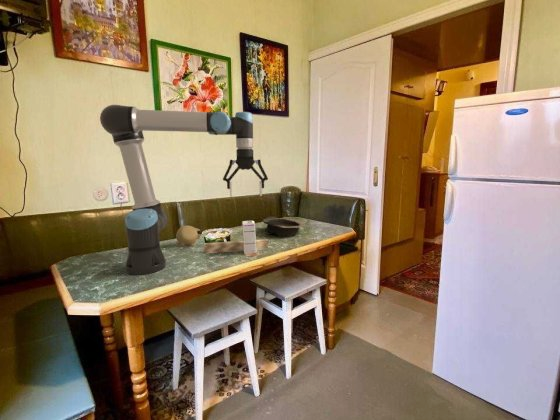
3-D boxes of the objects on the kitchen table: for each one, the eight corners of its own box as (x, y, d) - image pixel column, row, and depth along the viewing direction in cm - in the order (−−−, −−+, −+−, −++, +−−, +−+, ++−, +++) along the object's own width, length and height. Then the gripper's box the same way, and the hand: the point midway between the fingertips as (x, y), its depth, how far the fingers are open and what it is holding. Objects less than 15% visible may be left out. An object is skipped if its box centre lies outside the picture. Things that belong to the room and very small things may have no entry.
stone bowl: (252, 233, 175) (253, 217, 174) (284, 229, 192) (285, 214, 191) (281, 241, 157) (282, 223, 156) (314, 235, 174) (314, 219, 173)
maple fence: (202, 259, 132) (202, 251, 132) (204, 251, 144) (204, 243, 143) (270, 254, 138) (270, 246, 137) (267, 247, 149) (267, 239, 148)
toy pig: (204, 246, 153) (203, 225, 151) (180, 250, 146) (178, 229, 144) (198, 241, 161) (196, 222, 159) (174, 245, 154) (173, 225, 152)
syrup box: (256, 253, 140) (255, 222, 137) (243, 254, 139) (242, 223, 136) (255, 249, 145) (254, 220, 143) (243, 250, 144) (241, 220, 142)
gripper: (215, 148, 130) (217, 197, 134) (273, 148, 134) (274, 196, 137) (216, 148, 137) (218, 195, 141) (271, 148, 141) (271, 194, 145)
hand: (245, 195), depth 139 cm, fingers open, 13 cm apart
